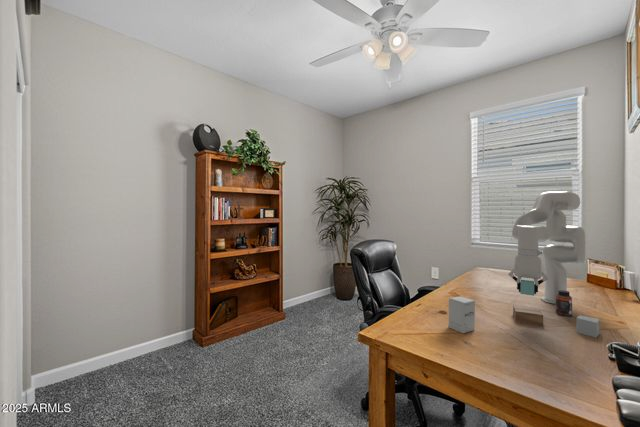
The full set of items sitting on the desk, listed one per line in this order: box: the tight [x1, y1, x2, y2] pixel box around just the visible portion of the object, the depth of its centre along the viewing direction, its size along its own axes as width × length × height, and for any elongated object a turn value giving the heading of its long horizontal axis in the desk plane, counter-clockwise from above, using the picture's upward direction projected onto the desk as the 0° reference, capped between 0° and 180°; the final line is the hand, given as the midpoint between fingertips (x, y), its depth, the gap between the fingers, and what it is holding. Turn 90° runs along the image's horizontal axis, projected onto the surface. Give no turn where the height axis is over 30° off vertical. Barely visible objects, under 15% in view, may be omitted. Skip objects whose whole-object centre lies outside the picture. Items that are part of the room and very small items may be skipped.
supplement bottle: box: [555, 290, 573, 317], centre depth 136 cm, size 6×6×11 cm
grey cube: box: [575, 314, 600, 338], centre depth 115 cm, size 6×6×6 cm
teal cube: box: [519, 278, 535, 297], centre depth 128 cm, size 5×5×6 cm
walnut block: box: [512, 304, 544, 327], centre depth 129 cm, size 10×10×5 cm
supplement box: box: [448, 296, 476, 334], centre depth 118 cm, size 7×7×13 cm
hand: (527, 292), depth 128 cm, fingers closed on teal cube, 5 cm apart
